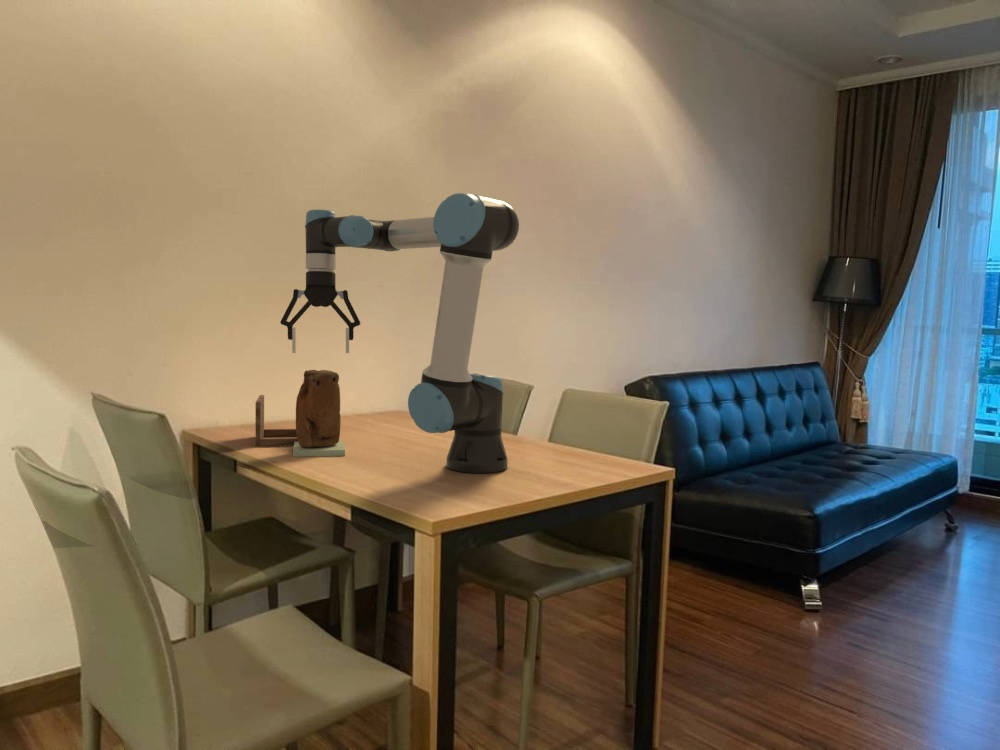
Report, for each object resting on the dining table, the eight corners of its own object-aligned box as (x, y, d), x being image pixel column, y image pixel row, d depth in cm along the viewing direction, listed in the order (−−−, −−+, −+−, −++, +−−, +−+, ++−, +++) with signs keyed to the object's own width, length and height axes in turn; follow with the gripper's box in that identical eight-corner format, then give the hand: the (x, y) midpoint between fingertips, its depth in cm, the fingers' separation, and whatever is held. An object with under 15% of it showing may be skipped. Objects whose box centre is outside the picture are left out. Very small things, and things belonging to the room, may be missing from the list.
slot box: (321, 445, 214) (322, 402, 212) (255, 446, 210) (255, 402, 208) (321, 435, 230) (321, 395, 228) (259, 436, 225) (259, 395, 224)
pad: (345, 455, 201) (345, 450, 201) (293, 456, 198) (293, 450, 198) (343, 446, 214) (343, 441, 214) (294, 447, 211) (294, 441, 211)
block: (326, 441, 212) (327, 368, 210) (343, 445, 207) (343, 370, 205) (291, 446, 204) (292, 370, 202) (308, 450, 199) (308, 372, 197)
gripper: (368, 272, 208) (368, 352, 210) (271, 270, 202) (272, 351, 204) (370, 271, 201) (370, 353, 202) (269, 268, 195) (270, 353, 197)
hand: (320, 352), depth 203 cm, fingers open, 13 cm apart
